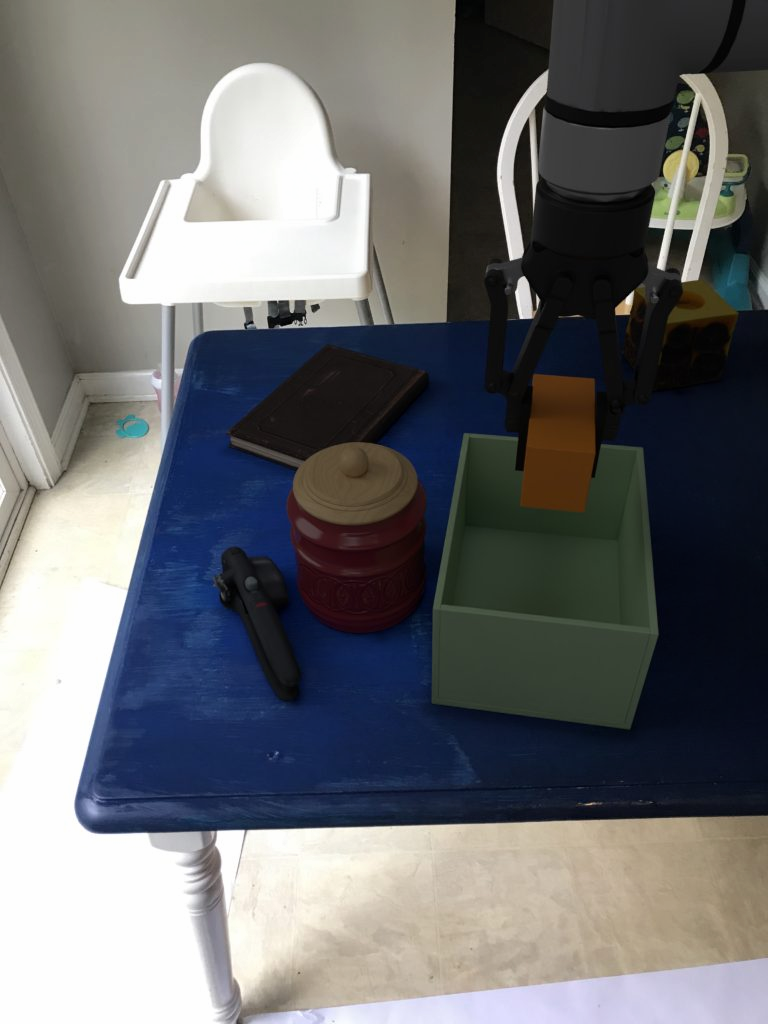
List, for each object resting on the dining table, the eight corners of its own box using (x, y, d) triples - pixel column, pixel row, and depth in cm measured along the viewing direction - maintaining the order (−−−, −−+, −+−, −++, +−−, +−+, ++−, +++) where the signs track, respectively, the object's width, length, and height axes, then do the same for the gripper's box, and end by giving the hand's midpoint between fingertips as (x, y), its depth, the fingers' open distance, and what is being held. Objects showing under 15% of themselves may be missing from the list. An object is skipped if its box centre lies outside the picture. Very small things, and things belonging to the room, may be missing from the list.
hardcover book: (228, 447, 103) (225, 432, 101) (328, 357, 117) (327, 343, 116) (338, 485, 96) (337, 470, 95) (429, 386, 111) (429, 371, 109)
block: (584, 436, 72) (594, 378, 68) (584, 513, 65) (595, 452, 61) (527, 431, 73) (533, 373, 69) (520, 506, 66) (527, 446, 62)
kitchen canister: (387, 656, 78) (381, 517, 66) (273, 607, 83) (249, 470, 71) (447, 567, 86) (452, 430, 74) (341, 528, 91) (329, 393, 79)
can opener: (210, 583, 86) (200, 544, 82) (275, 564, 87) (268, 525, 83) (254, 720, 73) (245, 681, 69) (329, 694, 75) (324, 655, 71)
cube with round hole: (650, 393, 108) (665, 325, 102) (618, 353, 116) (630, 287, 109) (722, 382, 110) (742, 314, 103) (686, 343, 117) (702, 277, 110)
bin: (621, 542, 88) (643, 447, 79) (630, 729, 71) (658, 634, 63) (459, 526, 91) (463, 432, 82) (431, 703, 74) (432, 608, 65)
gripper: (736, 163, 54) (664, 446, 70) (462, 153, 57) (451, 427, 73) (752, 209, 49) (671, 504, 64) (448, 196, 52) (440, 482, 67)
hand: (555, 463), depth 69 cm, fingers closed on block, 5 cm apart
